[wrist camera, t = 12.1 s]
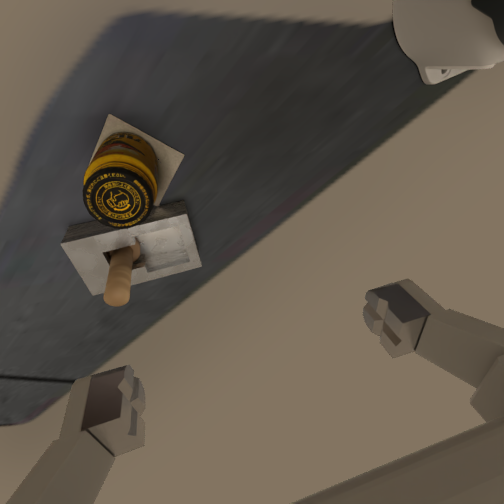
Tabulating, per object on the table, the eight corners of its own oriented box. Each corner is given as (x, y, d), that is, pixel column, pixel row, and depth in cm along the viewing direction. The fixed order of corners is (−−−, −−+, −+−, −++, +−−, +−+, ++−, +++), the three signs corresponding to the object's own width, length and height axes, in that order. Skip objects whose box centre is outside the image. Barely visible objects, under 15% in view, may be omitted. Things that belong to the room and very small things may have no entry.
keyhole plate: (183, 200, 37) (186, 213, 34) (198, 250, 42) (201, 266, 38) (68, 226, 35) (60, 243, 32) (97, 276, 39) (92, 295, 36)
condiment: (109, 113, 30) (88, 141, 20) (184, 154, 34) (196, 194, 24) (85, 174, 32) (56, 225, 23) (158, 205, 36) (159, 259, 27)
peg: (134, 229, 37) (129, 277, 29) (144, 253, 39) (143, 305, 31) (101, 237, 36) (87, 289, 28) (114, 261, 38) (104, 316, 30)
